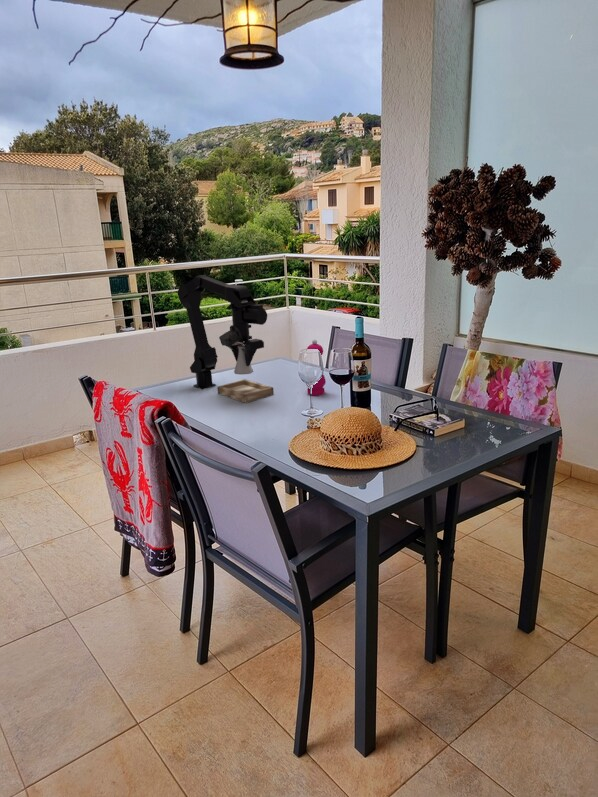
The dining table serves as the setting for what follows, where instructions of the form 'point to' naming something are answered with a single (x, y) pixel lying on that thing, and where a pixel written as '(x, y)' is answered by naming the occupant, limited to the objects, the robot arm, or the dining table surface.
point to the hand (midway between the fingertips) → (243, 364)
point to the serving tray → (245, 390)
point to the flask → (242, 363)
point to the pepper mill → (318, 386)
